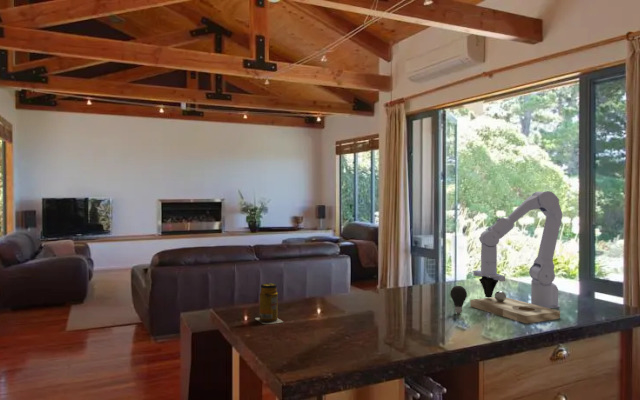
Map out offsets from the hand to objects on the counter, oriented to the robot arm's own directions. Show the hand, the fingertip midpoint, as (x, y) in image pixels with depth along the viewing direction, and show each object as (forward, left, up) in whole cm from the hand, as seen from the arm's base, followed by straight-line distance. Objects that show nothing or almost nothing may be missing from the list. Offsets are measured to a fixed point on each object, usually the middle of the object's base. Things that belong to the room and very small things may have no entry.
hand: (488, 297), depth 178 cm
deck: (0, +12, -3) cm, 12 cm away
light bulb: (+20, +6, -3) cm, 21 cm away
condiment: (+85, -12, -3) cm, 86 cm away
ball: (0, +6, +1) cm, 6 cm away
